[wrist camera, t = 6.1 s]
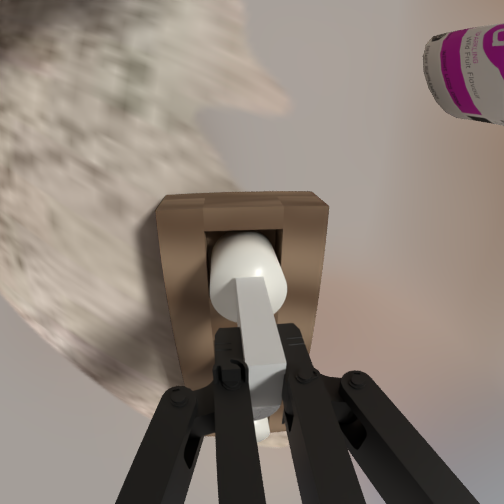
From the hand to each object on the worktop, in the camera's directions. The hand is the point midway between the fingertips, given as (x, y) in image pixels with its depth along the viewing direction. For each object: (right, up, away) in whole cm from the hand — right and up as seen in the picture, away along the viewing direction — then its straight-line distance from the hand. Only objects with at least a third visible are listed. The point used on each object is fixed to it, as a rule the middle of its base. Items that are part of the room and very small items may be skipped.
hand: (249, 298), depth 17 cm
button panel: (-1, -5, +11) cm, 12 cm away
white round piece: (-1, +2, +4) cm, 5 cm away
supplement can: (+18, +19, +2) cm, 26 cm away
